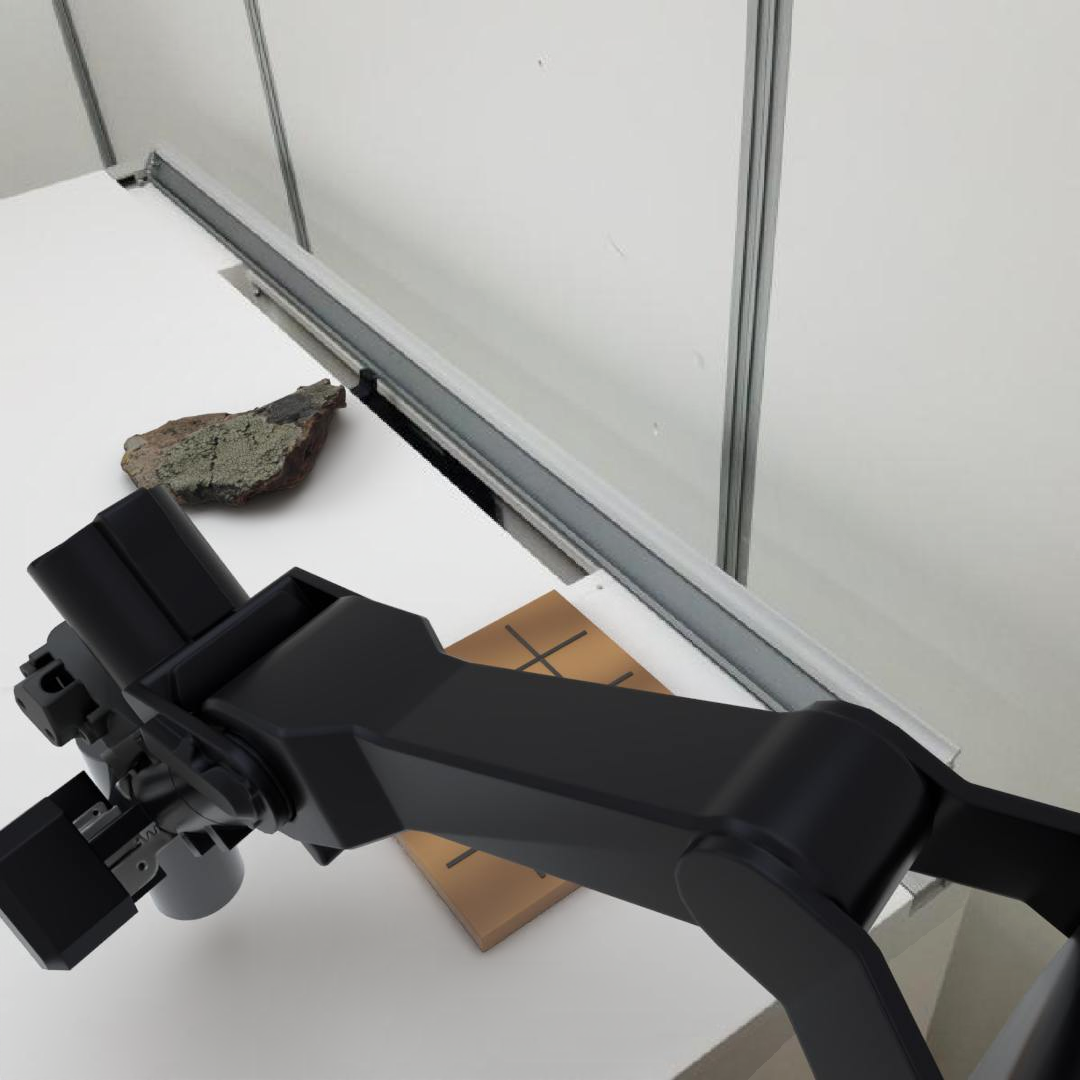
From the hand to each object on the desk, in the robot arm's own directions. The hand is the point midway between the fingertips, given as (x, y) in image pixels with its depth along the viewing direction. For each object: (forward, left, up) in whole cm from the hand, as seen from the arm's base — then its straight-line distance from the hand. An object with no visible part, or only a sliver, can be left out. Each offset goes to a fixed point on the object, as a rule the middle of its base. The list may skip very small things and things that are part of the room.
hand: (149, 790), depth 58 cm
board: (+6, -21, -12) cm, 25 cm away
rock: (+45, -6, -12) cm, 47 cm away
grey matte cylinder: (-1, -1, -7) cm, 7 cm away
